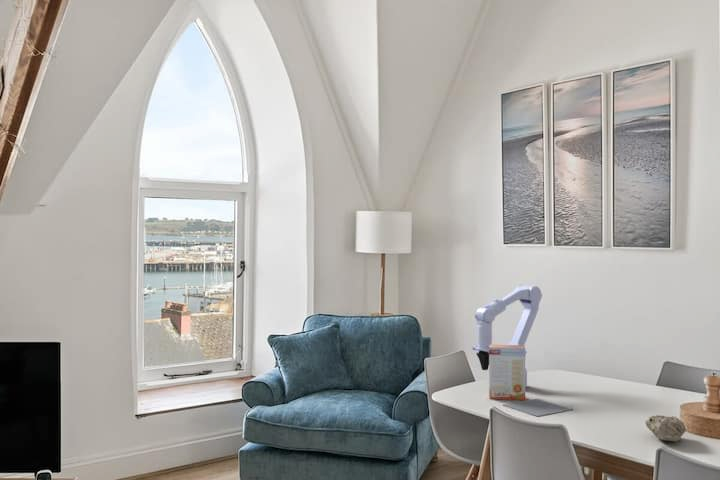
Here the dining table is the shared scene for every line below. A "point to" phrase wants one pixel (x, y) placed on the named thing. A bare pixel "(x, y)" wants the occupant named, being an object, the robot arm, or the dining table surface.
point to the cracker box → (507, 372)
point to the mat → (537, 407)
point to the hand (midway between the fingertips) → (484, 369)
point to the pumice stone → (666, 427)
